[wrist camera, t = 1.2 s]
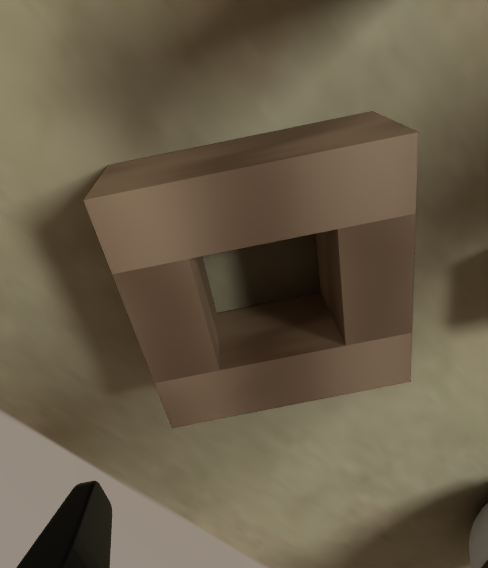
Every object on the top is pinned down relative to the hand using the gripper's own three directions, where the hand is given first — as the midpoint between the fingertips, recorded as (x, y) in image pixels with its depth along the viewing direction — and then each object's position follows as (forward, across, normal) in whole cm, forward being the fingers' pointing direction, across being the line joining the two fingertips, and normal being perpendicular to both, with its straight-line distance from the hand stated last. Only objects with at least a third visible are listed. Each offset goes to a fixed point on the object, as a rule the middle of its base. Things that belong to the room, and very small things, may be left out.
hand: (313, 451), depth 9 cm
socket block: (+9, 0, 0) cm, 9 cm away
